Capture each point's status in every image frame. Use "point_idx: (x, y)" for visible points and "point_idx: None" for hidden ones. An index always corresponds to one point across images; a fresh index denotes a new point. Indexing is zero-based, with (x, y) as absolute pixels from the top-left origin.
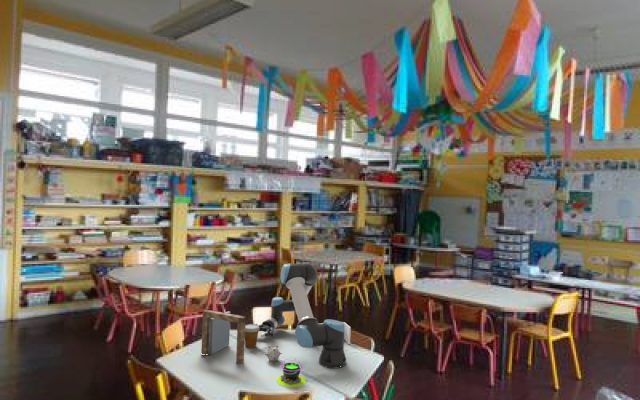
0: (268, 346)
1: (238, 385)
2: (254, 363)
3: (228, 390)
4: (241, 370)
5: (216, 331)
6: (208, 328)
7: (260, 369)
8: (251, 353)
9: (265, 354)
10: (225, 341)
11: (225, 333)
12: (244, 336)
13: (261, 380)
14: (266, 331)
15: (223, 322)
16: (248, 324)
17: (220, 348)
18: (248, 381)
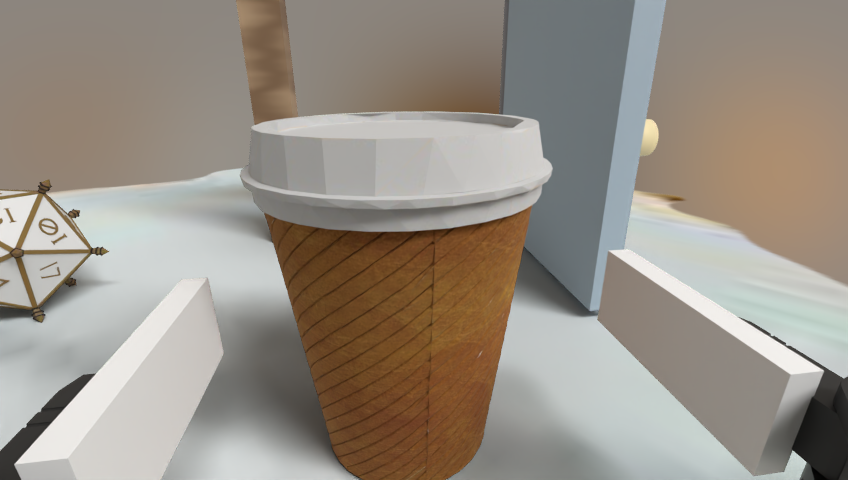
0: (48, 180)
1: (208, 184)
2: (194, 252)
3: (230, 174)
4: (242, 213)
5: (521, 89)
6: None
7: (136, 236)
8: (283, 315)
9: (101, 248)
10: (564, 235)
11: (571, 158)
12: (246, 67)
13: (117, 206)
14: (70, 454)
15: (564, 29)
16: (531, 125)
17: (532, 246)
18: (177, 195)
